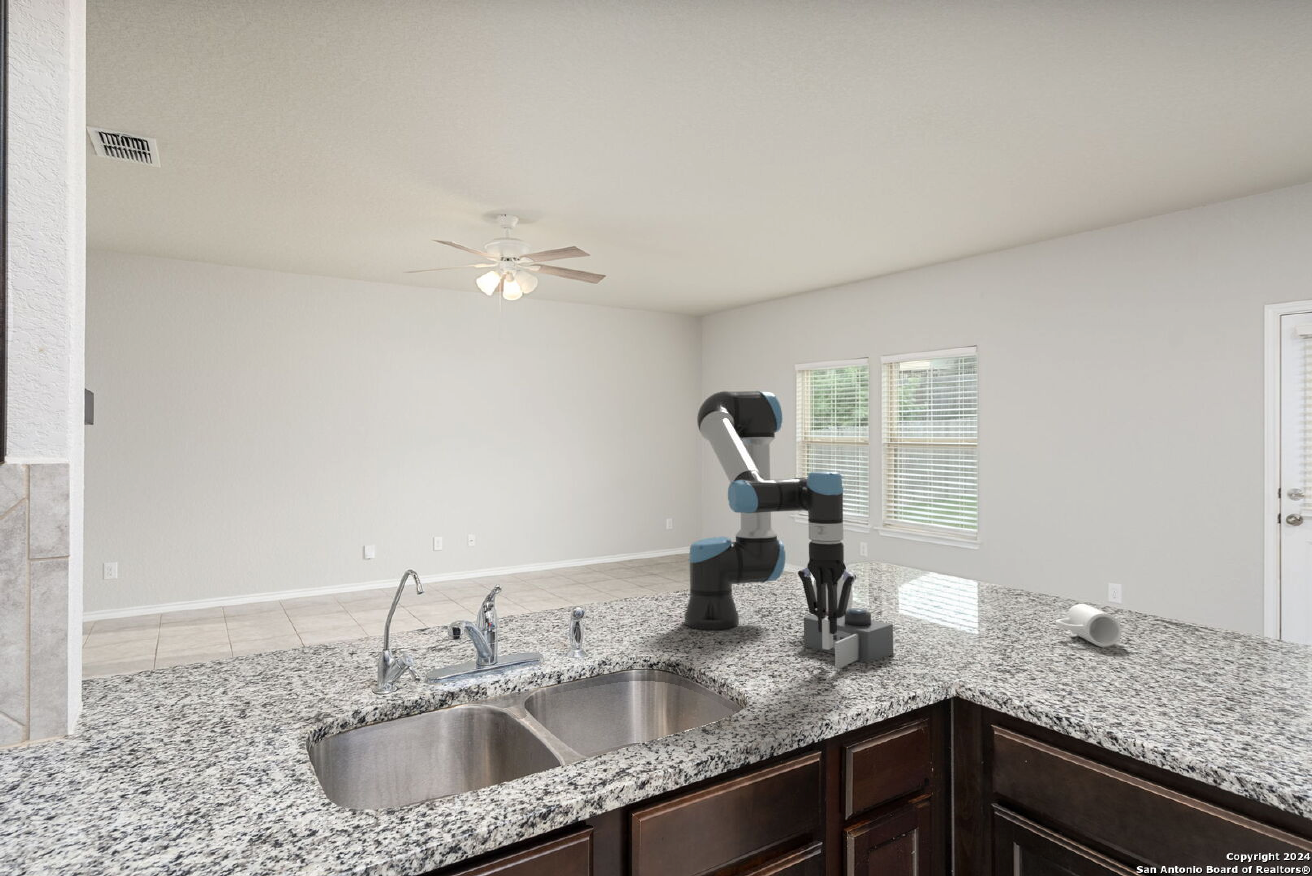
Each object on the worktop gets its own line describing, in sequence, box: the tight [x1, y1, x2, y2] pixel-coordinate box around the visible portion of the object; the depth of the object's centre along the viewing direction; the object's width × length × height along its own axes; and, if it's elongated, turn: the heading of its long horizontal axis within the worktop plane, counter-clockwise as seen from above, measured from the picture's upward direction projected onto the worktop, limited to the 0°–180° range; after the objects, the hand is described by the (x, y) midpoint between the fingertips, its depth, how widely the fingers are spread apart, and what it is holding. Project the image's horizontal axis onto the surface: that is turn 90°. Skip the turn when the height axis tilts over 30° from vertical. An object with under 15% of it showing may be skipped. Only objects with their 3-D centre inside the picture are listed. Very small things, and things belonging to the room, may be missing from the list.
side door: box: [834, 633, 859, 670], centre depth 148 cm, size 10×1×6 cm, turn 135°
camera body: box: [803, 607, 894, 664], centre depth 160 cm, size 18×10×10 cm, turn 39°
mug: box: [1055, 603, 1123, 648], centre depth 164 cm, size 12×10×8 cm
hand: (827, 647), depth 149 cm, fingers closed
